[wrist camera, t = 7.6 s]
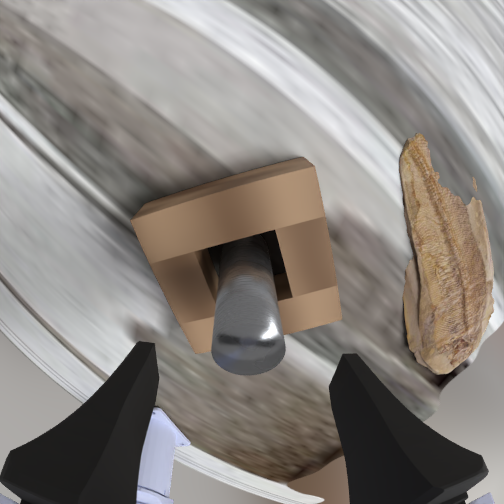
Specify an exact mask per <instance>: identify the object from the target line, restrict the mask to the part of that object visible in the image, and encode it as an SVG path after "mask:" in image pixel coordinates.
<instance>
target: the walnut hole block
mask: <svg viewBox="0 0 504 504" xmlns="http://www.w3.org/2000/svg"><path fill="white" fill-rule="evenodd" d="M130 221H131V224H132V226H133V228H134V231H135V233H136V235H137V237H138V240H139V242H140V244H141V246H142V249H143V251H144V253H145V255H146V257H147V260H148V262H149V264H150V266H151V268H152V270H153V272H154V275H155V277H156V279H157V281H158V283H159V285H160V287H161V289H162V291H163V293H164V295H165V297H166V299H167V301H168V303H169V305H170V307H171V309H172V311H173V313H174V315H175V317H176V319H177V321H178V322H179V324H180V326H181V328H182V330H183V332H184V334H185V336H186V337H187V339H188V341H189V343H190V345H191V347H192V348H193V350H194V352H195V354H198V353H204V352H209V351H211V346H212V336H213V326H214V316H215V306H216V297H217V288H218V279H219V278H218V275H217V273H216V270H215V268H214V265H213V262H212V260H211V257H210V254H209V252H208V249H207V248H209V247H212V246H216V245H219V244H223V243H227V242H230V241H234V240H238V239H241V238H245V237H249V236H252V235H256V234H260V233H264V232H267V231H271V230H275V231H276V235H277V238H278V242H279V246H280V250H281V253H282V257H283V261H284V265H285V269H286V272H285V273H281V274H277V275H274V276H273V278H274V284H275V289H276V295H277V301H278V306H279V312H280V318H281V324H282V329H283V335H286V334H290V333H294V332H298V331H302V330H306V329H310V328H313V327H317V326H321V325H324V324H328V323H332V322H335V321H339V320H342V314H341V307H340V300H339V293H338V286H337V280H336V273H335V267H334V261H333V255H332V249H331V244H330V238H329V233H328V227H327V222H326V217H325V212H324V207H323V202H322V197H321V192H320V188H319V183H318V178H317V174H316V169H315V166H314V165H313V164H312V163H310V162H309V161H308V160H307V159H306V158H304V157H300V158H296V159H292V160H288V161H284V162H280V163H276V164H273V165H269V166H265V167H261V168H258V169H254V170H250V171H247V172H243V173H240V174H236V175H233V176H229V177H226V178H222V179H219V180H216V181H212V182H209V183H206V184H203V185H199V186H196V187H193V188H190V189H187V190H184V191H181V192H178V193H175V194H171V195H168V196H166V197H163V198H160V199H157V200H154V201H151V202H148V203H145V204H144V206H143V207H142V208H141V209H140V210H139V211H138V212H137V213H136V215H135V216H134V217H133V218H132V219H131V220H130Z"/></svg>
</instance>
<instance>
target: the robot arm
mask: <svg viewBox="0 0 504 504" xmlns="http://www.w3.org/2000/svg"><path fill="white" fill-rule="evenodd" d="M158 383H159V373H158V366H157V358H156V350H155V343H149V342H142V341H139V342H137V343H136V345H135V346H134V347H133V349H132V350H131V351H130V353H129V354H128V355H127V357H126V358H125V359H124V360H123V362H122V363H121V364H120V365H119V367H118V368H117V369H116V370H115V371H114V373H113V374H112V375H111V376H110V377H109V378H108V380H107V381H106V382H105V383H104V384H103V385H102V386H101V387H100V388H99V389H98V390H97V391H96V392H95V393H94V394H93V395H92V396H91V397H90V398H89V399H88V400H87V401H86V402H85V403H84V404H83V405H82V406H81V407H80V408H78V409H77V410H76V411H75V412H74V413H72V414H71V415H70V416H68V417H67V418H66V419H65V420H63V421H62V422H61V423H59V424H58V425H56V426H55V427H53V428H52V429H50V430H49V431H47V432H46V433H44V434H42V435H41V436H39V437H37V438H36V439H34V440H32V441H30V442H28V443H26V444H24V445H22V446H20V447H18V448H16V449H13V450H11V451H10V453H9V455H8V457H7V458H6V461H5V464H4V466H3V469H2V472H1V475H0V482H1V483H2V484H3V485H4V486H5V487H7V488H8V489H9V490H11V491H12V492H13V493H14V494H16V495H17V496H18V497H20V498H21V503H20V504H174V500H173V499H169V494H170V486H171V477H172V469H173V461H174V453H175V447H177V446H189V445H190V441H189V440H188V439H187V438H186V437H185V436H184V434H183V433H182V432H181V431H180V430H179V429H178V428H177V427H176V426H175V424H174V423H173V422H172V421H171V420H170V419H169V417H168V416H167V415H166V414H165V413H164V412H163V410H162V409H160V408H158V407H155V408H154V405H155V402H156V396H157V389H158ZM329 392H330V400H331V407H332V411H333V415H334V419H335V422H336V426H337V430H338V433H339V437H340V441H341V444H342V448H343V452H344V456H345V461H346V468H347V476H348V485H349V498H350V504H466V503H465V500H466V499H467V498H468V495H467V492H466V491H468V490H469V489H471V488H472V487H473V486H475V485H476V484H477V483H479V482H480V481H481V480H482V479H484V478H485V477H486V476H487V474H488V472H489V471H488V469H487V466H486V464H485V462H484V460H483V457H482V456H481V455H479V454H477V453H474V452H472V451H470V450H467V449H465V448H463V447H461V446H459V445H457V444H455V443H454V442H452V441H450V440H448V439H447V438H445V437H443V436H441V435H440V434H439V433H437V432H436V431H434V430H433V429H431V428H430V427H429V426H427V425H426V424H424V423H423V422H422V421H421V420H420V419H418V418H417V417H416V416H415V415H414V414H412V413H411V412H410V411H409V410H408V409H407V408H406V407H405V406H404V405H403V404H402V403H401V402H400V401H399V400H398V399H397V398H396V397H395V396H394V395H393V394H392V393H391V392H390V391H389V390H388V389H387V388H386V387H385V386H384V384H383V383H382V382H381V381H380V380H379V379H378V378H377V376H376V375H375V374H374V373H373V372H372V371H371V370H370V368H369V367H368V366H367V365H366V364H365V363H364V361H363V360H362V359H361V358H360V357H359V356H358V355H357V354H342V357H341V359H340V362H339V364H338V366H337V369H336V371H335V374H334V376H333V378H332V381H331V383H330V385H329ZM0 504H18V503H17V502H15V501H13V500H11V499H9V498H8V497H6V496H4V495H2V494H0ZM469 504H495V503H494V500H493V498H492V495H491V493H487V494H485V495H483V496H482V497H480V498H478V499H476V500H474V501H472V502H470V503H469Z"/></svg>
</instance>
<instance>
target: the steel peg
mask: <svg viewBox="0 0 504 504" xmlns="http://www.w3.org/2000/svg"><path fill="white" fill-rule="evenodd" d="M285 350H286V349H285V341H284V335H283V329H282V324H281V318H280V312H279V306H278V301H277V295H276V289H275V284H274V278H273V273H272V267H271V262H270V256H269V251H268V246H267V243H266V241H265V240H264V238H263V237H262V236H260V235H259V234H256V235H252V236H249V237H245V238H241V239H238V240H234V241H230V242H227V243H224V244H223V246H222V253H221V261H220V270H219V279H218V288H217V297H216V306H215V316H214V326H213V336H212V346H211V353H212V356H213V359H214V360H215V362H216V363H217V364H218V365H219V366H220V367H221V368H223V369H224V370H226V371H228V372H231V373H234V374H238V375H257V374H261V373H264V372H267V371H269V370H271V369H273V368H274V367H276V366H277V365H278V364H279V363H280V362H281V360H282V359H283V357H284V355H285Z"/></svg>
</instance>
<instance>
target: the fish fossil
mask: <svg viewBox="0 0 504 504" xmlns="http://www.w3.org/2000/svg"><path fill="white" fill-rule="evenodd" d="M427 143H428V142H427V141H426V140H425V138H424V136H423V135H422V134H420V133H419V134H417V133H416V135H415V136H414V137H413V138H408V140H407V141H406V143H405V146H404V148H403V151H402V153H401V156H400V162H399V164H400V168H399V173H400V178H401V186H402V191H403V205H404V216H405V219H406V224H407V233H408V236H409V238H410V243H411V246H412V250H413V254H414V256H413V259H412V260H409V264H408V266H407V269H406V270H405V274H406V275H405V280H406V283H405V286H404V293H403V301H404V315H405V325H406V330H407V334H408V335H406V336H407V339H408V344H409V350H411V351H412V352H413V353H414V354H415V355H414V356H415V357H416V359H417V362H418V363H419V364H421V365H423V366H425V367H428V369H429V370H431V371H432V372H433V373H436V374H447V373H449V372H451V371H452V370H453V369H454V368H456V367H457V366H458V365H459V364H460V363H461V362H463V361H465V360H466V359H467V358H468V357H469V356H470V354H471V353H473V352H474V351H475V349H476V348H477V347H478V345H479V343H480V340H481V337H482V336H483V334H484V332H485V331H486V327H487V325H488V323H489V319H490V317H491V314H492V313H493V312H494V309H493V304H494V299H493V298H492V294H491V292H492V288H493V275H494V269H493V261H492V260H491V249H490V241H489V238H488V230H487V227H486V221H485V217H484V213H483V209H482V202H481V200H479V201H478V200H476V199H475V198H474V197H473V198H472V200H471V203H470V204H469V205H467V206H466V205H465V204H463V202H462V200H461V198H460V197H459V196H455V197H454V195H453V194H452V193H450V190H449V189H448V188H446V187H442V186H441V185H440V184H438V182H437V180H438V179H439V173H438V172H434V169H433V167H432V165H431V158H430V150H429V149H428V148H427ZM470 175H471V174H470ZM473 187H474V188H475V190H476V192H477V186H476V182H475V179H474V177H473Z"/></svg>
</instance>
